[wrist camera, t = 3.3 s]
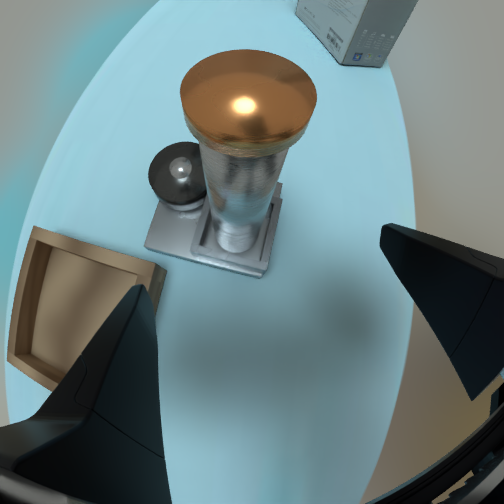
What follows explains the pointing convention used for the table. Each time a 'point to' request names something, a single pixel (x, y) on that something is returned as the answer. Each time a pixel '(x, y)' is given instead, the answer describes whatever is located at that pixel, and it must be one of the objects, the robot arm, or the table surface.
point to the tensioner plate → (199, 215)
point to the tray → (68, 301)
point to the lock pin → (244, 133)
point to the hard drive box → (356, 27)
